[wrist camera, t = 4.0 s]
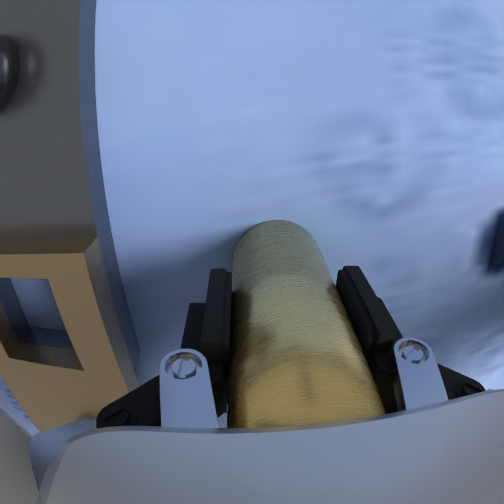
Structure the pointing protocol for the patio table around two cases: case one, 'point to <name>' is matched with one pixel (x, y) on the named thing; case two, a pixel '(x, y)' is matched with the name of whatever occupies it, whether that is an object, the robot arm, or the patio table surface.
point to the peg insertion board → (57, 219)
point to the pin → (292, 337)
